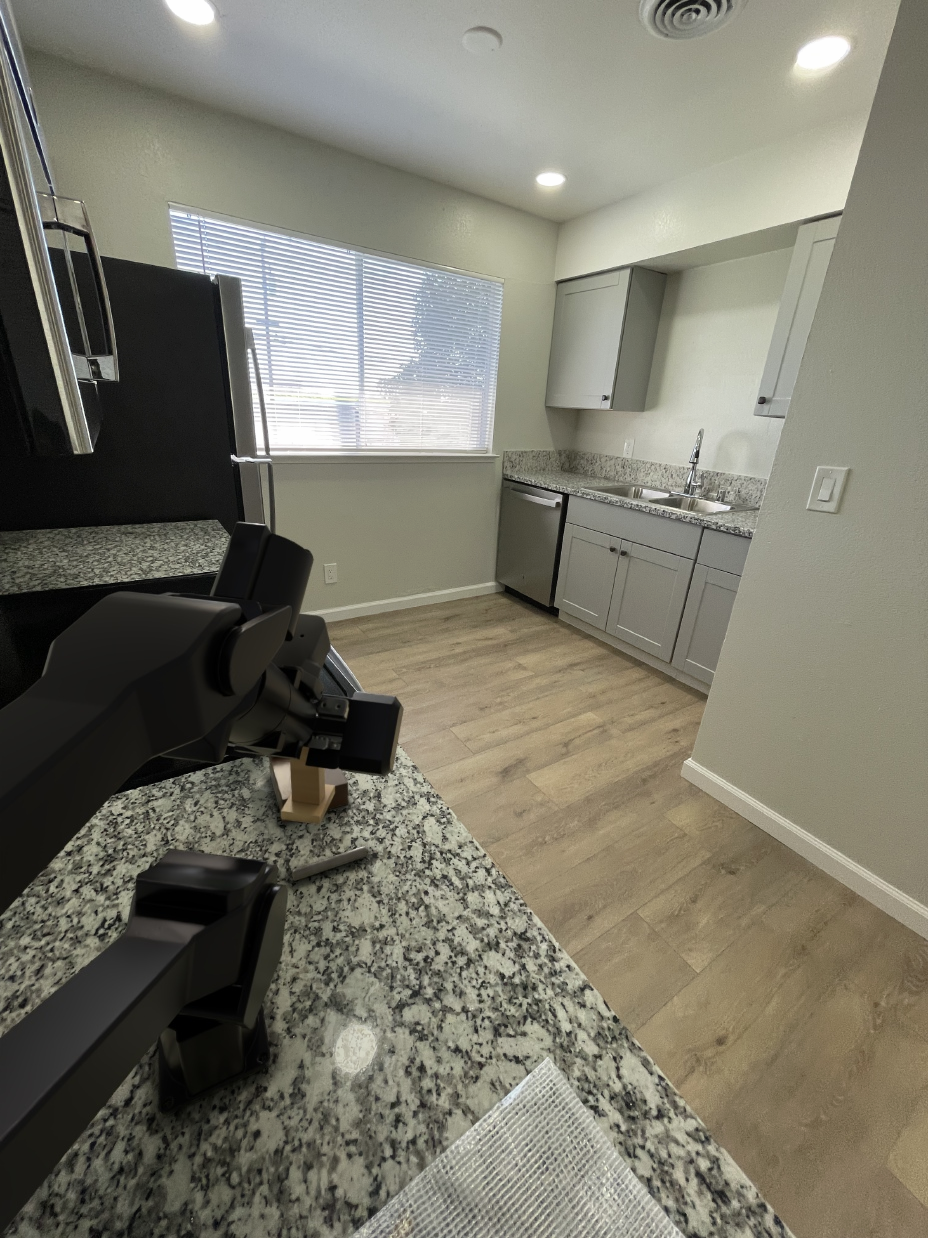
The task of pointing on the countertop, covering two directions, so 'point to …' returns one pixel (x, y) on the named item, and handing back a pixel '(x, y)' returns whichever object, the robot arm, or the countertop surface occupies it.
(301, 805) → the wooden post stand
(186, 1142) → the countertop surface
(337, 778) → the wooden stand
